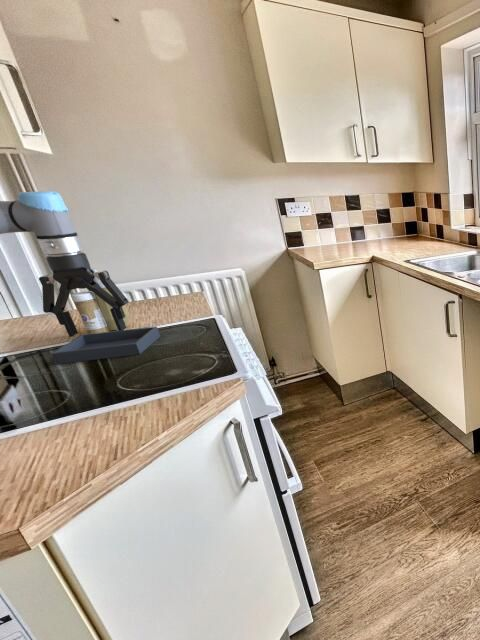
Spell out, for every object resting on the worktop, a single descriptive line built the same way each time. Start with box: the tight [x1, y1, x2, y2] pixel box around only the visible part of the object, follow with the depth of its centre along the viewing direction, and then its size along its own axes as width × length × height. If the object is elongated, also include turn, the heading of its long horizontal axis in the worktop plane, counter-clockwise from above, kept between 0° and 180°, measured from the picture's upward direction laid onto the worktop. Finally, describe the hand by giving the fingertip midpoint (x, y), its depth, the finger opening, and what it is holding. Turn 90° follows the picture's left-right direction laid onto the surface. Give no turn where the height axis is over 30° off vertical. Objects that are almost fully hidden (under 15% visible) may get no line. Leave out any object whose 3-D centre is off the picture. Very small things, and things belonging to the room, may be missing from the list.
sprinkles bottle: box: [70, 290, 110, 334], centre depth 117 cm, size 5×5×14 cm
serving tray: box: [50, 326, 161, 365], centre depth 111 cm, size 17×13×3 cm
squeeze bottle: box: [88, 268, 131, 332], centre depth 124 cm, size 8×8×18 cm
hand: (98, 332), depth 119 cm, fingers open, 10 cm apart
